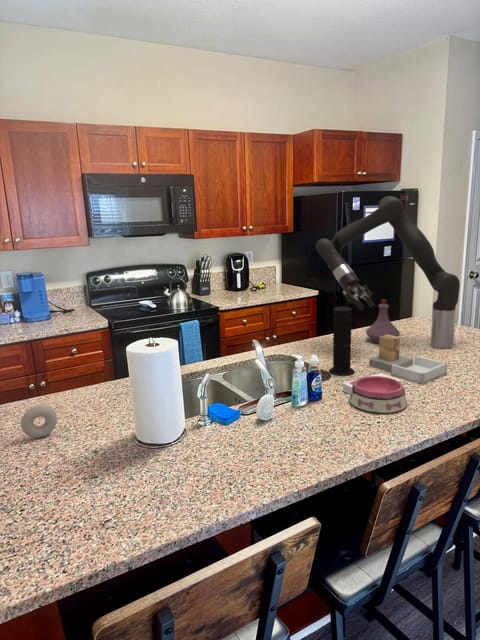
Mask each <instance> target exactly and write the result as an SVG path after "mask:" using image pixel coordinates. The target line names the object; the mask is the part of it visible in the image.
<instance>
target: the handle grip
mask: <svg viewBox="0 0 480 640" xmlns="http://www.w3.org/2000/svg"><path fill="white" fill-rule="evenodd" d="M332 320H333V322H332V324H333V325H332V326H333V327H332V329H333V331H332V333H333V335H332V337H333V338H332V341H333V343H332V349H333V350H332V352H333V353H332V357H333V358H332V360H333V361H332V367H330V368H329V370H328V373H329V375H330V374H331V375H333V376H335V377H348V376H352V375H354V374H355V373H356V372H355V370H354V368H352V367H351V366H352V364H351V361H352V358H351V357H352V354H351V353H352V351H351V350H352V346H351V345H352V307H347V306H338V307H334V308H333V319H332Z"/></svg>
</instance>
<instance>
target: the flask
mask: <svg viewBox="0 0 480 640" xmlns="http://www.w3.org/2000/svg"><path fill="white" fill-rule="evenodd" d="M389 307H390V306H389V304H387V299H381V300H380V304H378V309H379V312H378V316H377V318H376V320H375V321H374V322H373V323H372V324H371V326H369V327H368V328H366V331H365V332H366V335H367V336H368V337H369V339H370V340H371V341H372V342H373V343H377V344H379V337H381V336H384V335H392V336H396V337H399V336H401V333H400V330H398V329H397V327H396V326H395V325H394V324H393V323H392V322H391V321H390V317H389V313H388V310H389Z"/></svg>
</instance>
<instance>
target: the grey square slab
mask: <svg viewBox="0 0 480 640" xmlns="http://www.w3.org/2000/svg"><path fill="white" fill-rule="evenodd" d="M368 362H369V363H368V367H371V368H374V369H378V370H381V371H385V372H387V373H391V371H392V365H393V364H394V365H397V366H401V367H404V368H406V367H409V366H412V365H414V359H413V358H410V357H406V356H402V355H399V359H397V360H395V361H392V362H391V361H387V360H384V359H380V358H379V355H377V356H374V357H371V358H369V359H368Z"/></svg>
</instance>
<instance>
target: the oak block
mask: <svg viewBox="0 0 480 640" xmlns="http://www.w3.org/2000/svg"><path fill="white" fill-rule="evenodd" d="M400 343H401V337H399V336H398V337H396V336H392V335H384V336H381V337H379V343H378V356H379V358H380V359H384V360H387V361H391V362H392V361H395V360H397V359H399V356H400V346H401V344H400Z"/></svg>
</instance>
